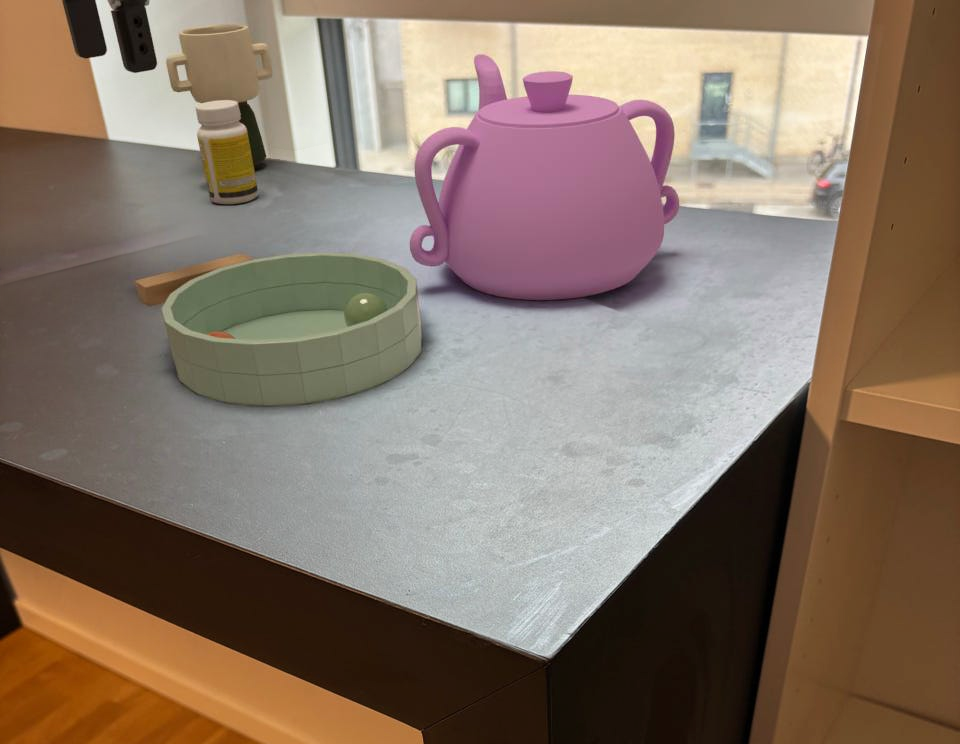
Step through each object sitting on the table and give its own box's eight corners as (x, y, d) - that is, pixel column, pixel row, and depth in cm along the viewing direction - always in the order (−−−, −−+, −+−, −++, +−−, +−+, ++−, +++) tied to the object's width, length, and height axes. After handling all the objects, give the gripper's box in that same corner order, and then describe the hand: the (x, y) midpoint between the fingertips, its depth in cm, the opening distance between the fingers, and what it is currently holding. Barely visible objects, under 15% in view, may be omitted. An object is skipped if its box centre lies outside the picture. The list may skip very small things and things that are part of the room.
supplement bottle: (268, 194, 101) (252, 100, 95) (235, 207, 98) (217, 111, 92) (234, 189, 103) (216, 97, 98) (200, 202, 100) (180, 107, 95)
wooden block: (247, 277, 82) (242, 252, 80) (258, 283, 80) (253, 258, 79) (141, 306, 78) (134, 280, 76) (151, 313, 76) (144, 287, 75)
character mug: (274, 153, 114) (253, 19, 106) (297, 165, 110) (276, 26, 101) (180, 169, 111) (150, 32, 103) (200, 183, 106) (170, 39, 98)
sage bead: (352, 318, 66) (384, 347, 68) (373, 280, 66) (405, 310, 68) (328, 321, 68) (360, 349, 70) (349, 284, 68) (380, 313, 70)
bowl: (248, 440, 59) (233, 367, 56) (140, 358, 69) (122, 293, 67) (470, 361, 66) (466, 293, 64) (342, 298, 77) (334, 237, 74)
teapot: (596, 210, 91) (599, 33, 83) (732, 283, 75) (755, 72, 67) (363, 252, 85) (341, 65, 77) (458, 340, 69) (443, 117, 61)
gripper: (153, -240, 60) (209, 67, 71) (61, -228, 69) (123, 44, 79) (29, -237, 57) (108, 86, 67) (-51, -225, 66) (29, 59, 76)
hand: (116, 63), depth 73 cm, fingers open, 8 cm apart
